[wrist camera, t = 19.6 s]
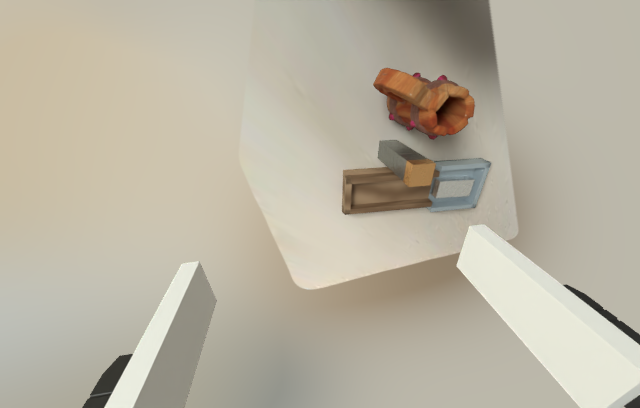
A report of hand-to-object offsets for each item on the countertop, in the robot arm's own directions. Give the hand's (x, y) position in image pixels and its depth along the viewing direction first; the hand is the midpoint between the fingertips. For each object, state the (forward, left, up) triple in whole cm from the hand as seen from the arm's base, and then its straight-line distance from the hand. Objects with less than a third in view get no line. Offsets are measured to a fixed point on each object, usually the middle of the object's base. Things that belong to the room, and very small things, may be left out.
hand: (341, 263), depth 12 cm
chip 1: (+15, +31, -35) cm, 49 cm away
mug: (-4, +17, -36) cm, 40 cm away
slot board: (+15, +18, -36) cm, 43 cm away
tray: (+15, +34, -36) cm, 51 cm away
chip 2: (+15, +35, -35) cm, 52 cm away
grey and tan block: (+6, +17, -36) cm, 40 cm away
